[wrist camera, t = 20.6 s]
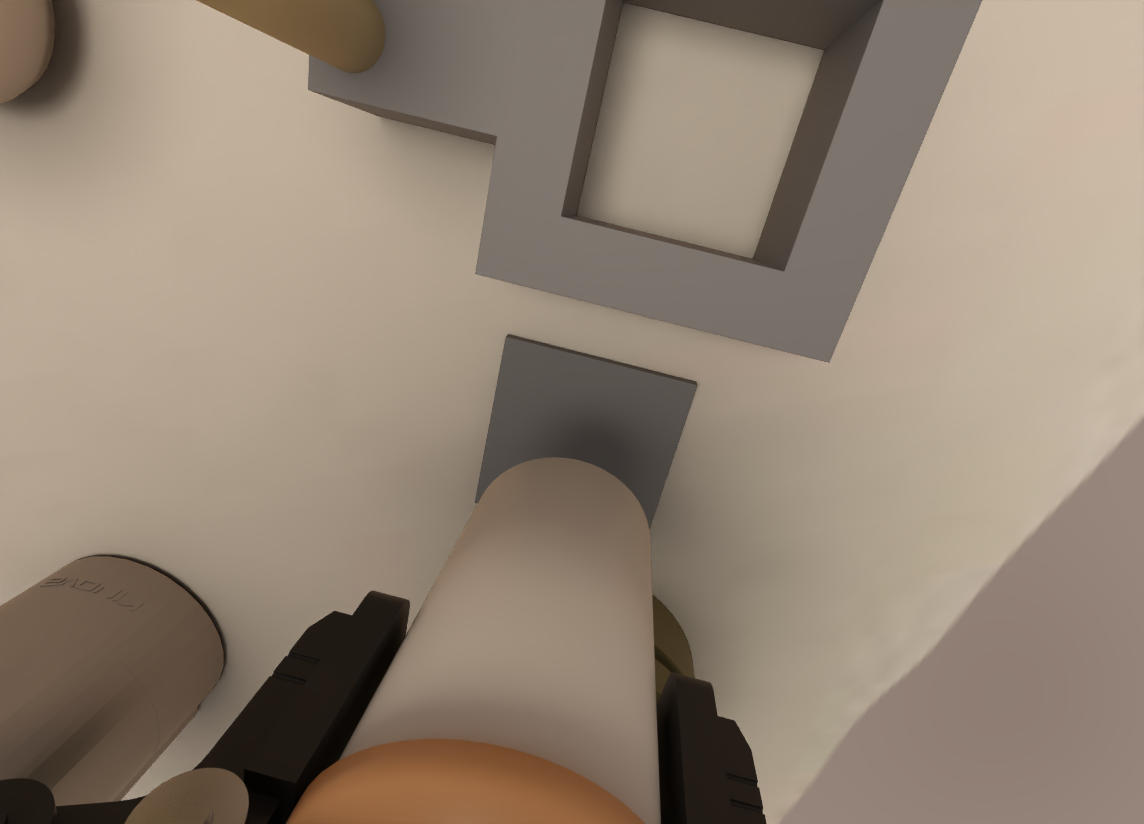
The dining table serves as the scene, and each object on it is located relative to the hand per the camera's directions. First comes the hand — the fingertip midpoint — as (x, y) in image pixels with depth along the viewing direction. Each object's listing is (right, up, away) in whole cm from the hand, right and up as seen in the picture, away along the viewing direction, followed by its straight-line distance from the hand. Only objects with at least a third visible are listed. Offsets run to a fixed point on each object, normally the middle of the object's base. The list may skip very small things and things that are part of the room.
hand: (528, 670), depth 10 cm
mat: (+1, +4, +10) cm, 11 cm away
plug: (0, +2, +4) cm, 4 cm away
